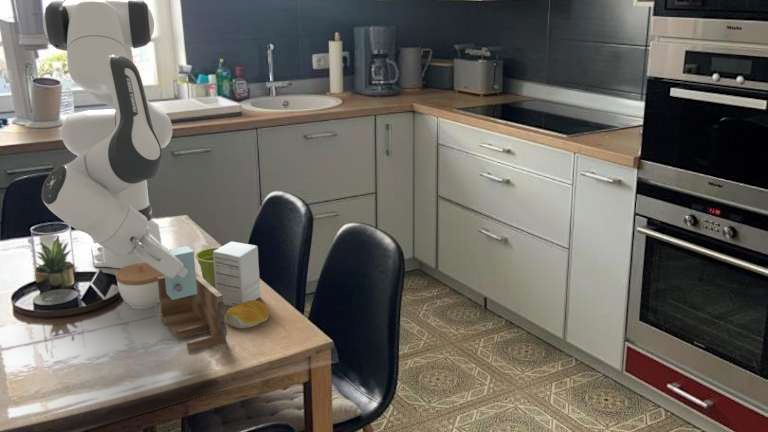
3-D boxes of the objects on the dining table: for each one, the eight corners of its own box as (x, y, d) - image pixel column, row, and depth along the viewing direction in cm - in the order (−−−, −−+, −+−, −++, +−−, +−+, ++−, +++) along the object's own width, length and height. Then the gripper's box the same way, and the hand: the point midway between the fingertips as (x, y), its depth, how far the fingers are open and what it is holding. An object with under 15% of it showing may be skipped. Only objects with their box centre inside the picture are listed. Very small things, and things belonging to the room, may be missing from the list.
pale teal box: (166, 293, 152) (162, 251, 149) (190, 287, 155) (187, 245, 152) (174, 302, 149) (170, 258, 146) (199, 296, 151) (195, 253, 148)
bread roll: (276, 317, 167) (275, 300, 166) (246, 332, 160) (245, 315, 159) (248, 308, 172) (247, 291, 170) (218, 322, 165) (217, 305, 163)
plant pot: (230, 278, 187) (227, 244, 185) (245, 290, 180) (243, 255, 177) (192, 286, 183) (189, 252, 180) (207, 299, 175) (204, 264, 172)
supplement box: (234, 291, 180) (231, 240, 175) (261, 297, 177) (259, 245, 173) (215, 303, 173) (211, 250, 169) (242, 309, 170) (239, 256, 166)
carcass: (161, 320, 165) (157, 277, 162) (196, 311, 169) (192, 269, 166) (191, 353, 151) (187, 306, 148) (228, 342, 155) (225, 297, 152)
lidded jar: (154, 289, 181) (150, 252, 178) (178, 303, 174) (174, 264, 171) (110, 303, 174) (106, 264, 171) (134, 317, 167) (129, 277, 164)
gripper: (153, 233, 135) (210, 273, 143) (119, 203, 151) (173, 241, 159) (129, 262, 134) (189, 301, 142) (99, 229, 150) (153, 265, 158)
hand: (180, 269), depth 151 cm, fingers closed on pale teal box, 3 cm apart
